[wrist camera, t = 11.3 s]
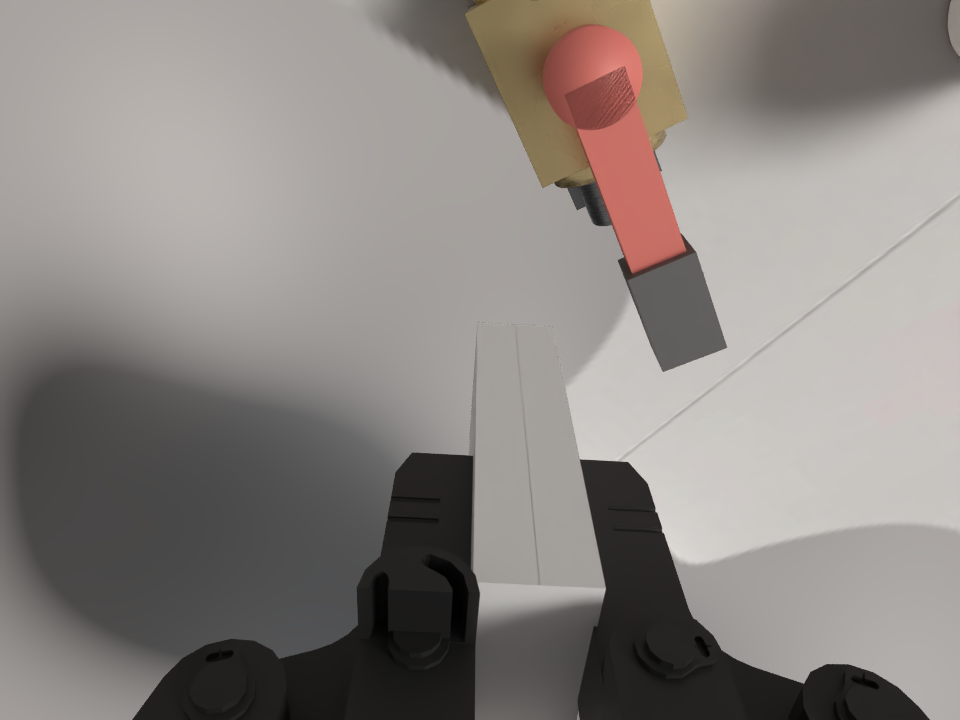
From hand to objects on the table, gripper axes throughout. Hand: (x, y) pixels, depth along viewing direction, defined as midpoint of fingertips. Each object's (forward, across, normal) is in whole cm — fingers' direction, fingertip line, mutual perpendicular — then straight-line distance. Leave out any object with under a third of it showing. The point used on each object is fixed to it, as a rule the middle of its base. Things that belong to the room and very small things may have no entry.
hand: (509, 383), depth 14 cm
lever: (+17, +6, -1) cm, 18 cm away
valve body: (+26, +3, +4) cm, 27 cm away
